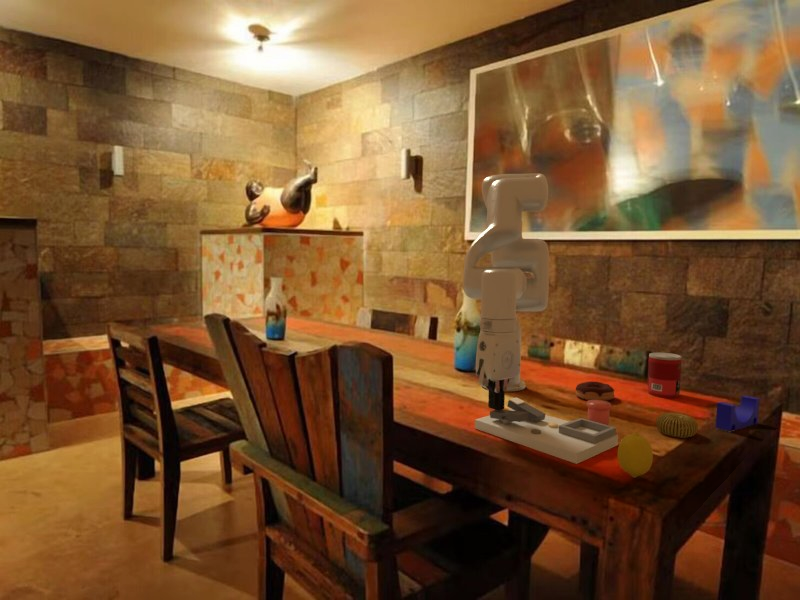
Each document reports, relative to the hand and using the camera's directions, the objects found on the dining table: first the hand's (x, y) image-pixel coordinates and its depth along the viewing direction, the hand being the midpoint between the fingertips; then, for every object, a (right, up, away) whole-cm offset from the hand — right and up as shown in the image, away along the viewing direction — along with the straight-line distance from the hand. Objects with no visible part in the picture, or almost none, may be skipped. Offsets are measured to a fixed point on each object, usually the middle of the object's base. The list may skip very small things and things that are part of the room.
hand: (496, 408), depth 115 cm
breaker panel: (+9, -5, -5) cm, 11 cm away
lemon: (+19, -7, -25) cm, 32 cm away
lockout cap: (+22, -5, 0) cm, 23 cm away
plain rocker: (+2, -2, -3) cm, 5 cm away
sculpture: (+38, -5, -2) cm, 39 cm away
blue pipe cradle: (+54, -5, +3) cm, 55 cm away
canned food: (+51, -2, +29) cm, 59 cm away
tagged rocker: (+6, -2, +1) cm, 7 cm away
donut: (+31, -3, +26) cm, 40 cm away
